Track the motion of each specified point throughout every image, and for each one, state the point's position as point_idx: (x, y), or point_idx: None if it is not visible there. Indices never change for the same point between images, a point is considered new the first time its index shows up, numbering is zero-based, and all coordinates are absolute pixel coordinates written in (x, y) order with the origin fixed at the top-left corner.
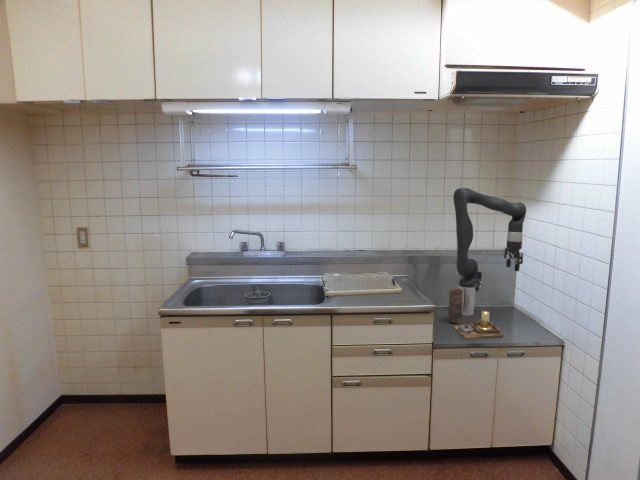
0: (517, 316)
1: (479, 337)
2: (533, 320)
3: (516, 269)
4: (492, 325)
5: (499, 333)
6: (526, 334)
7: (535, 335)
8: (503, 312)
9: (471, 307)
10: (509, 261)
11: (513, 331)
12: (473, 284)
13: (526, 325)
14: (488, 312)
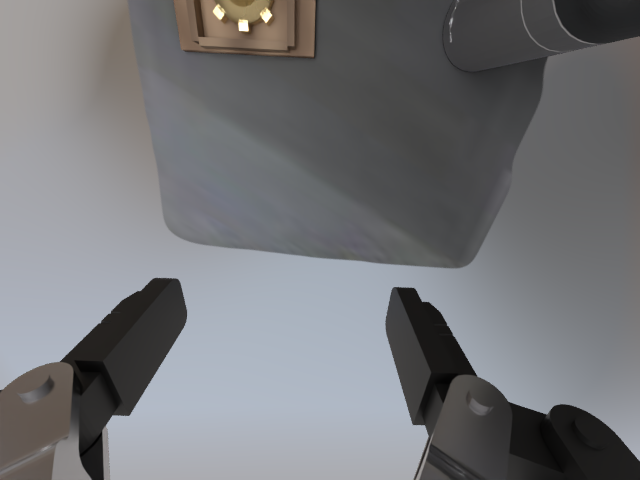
0: (376, 231)
1: None
2: (332, 258)
3: (130, 299)
4: (253, 40)
5: (198, 43)
6: (218, 167)
7: (210, 192)
8: (425, 207)
9: (462, 29)
10: (414, 389)
11: (246, 136)
12: None
13: (295, 214)
14: None
